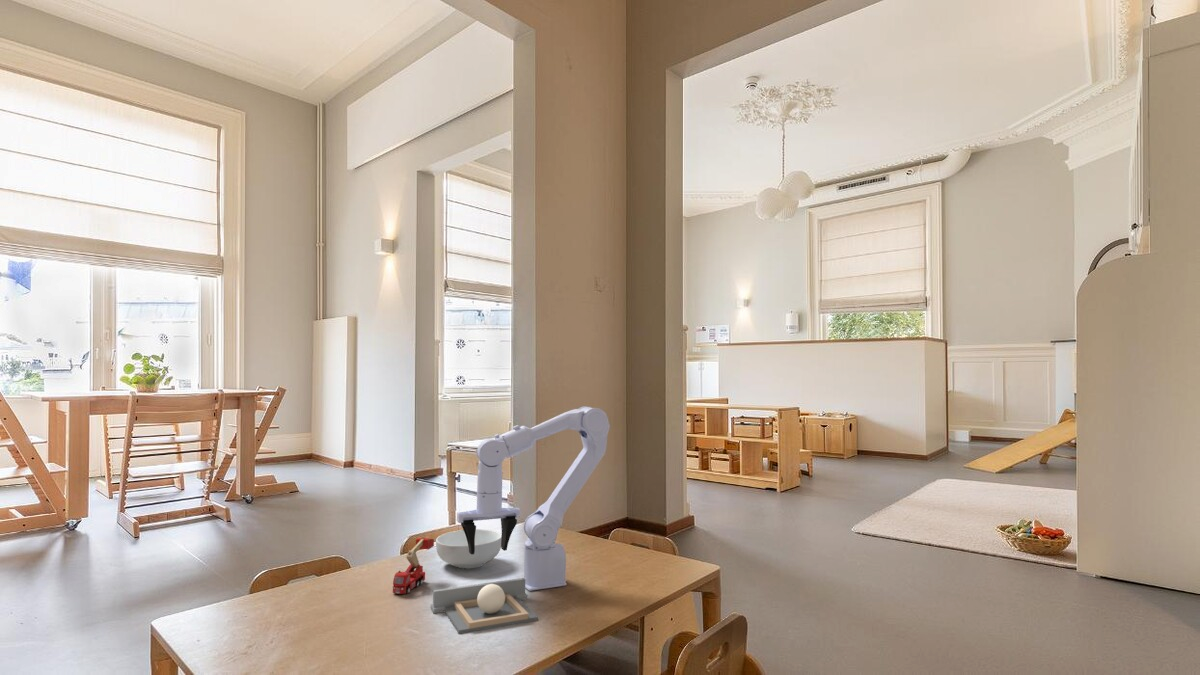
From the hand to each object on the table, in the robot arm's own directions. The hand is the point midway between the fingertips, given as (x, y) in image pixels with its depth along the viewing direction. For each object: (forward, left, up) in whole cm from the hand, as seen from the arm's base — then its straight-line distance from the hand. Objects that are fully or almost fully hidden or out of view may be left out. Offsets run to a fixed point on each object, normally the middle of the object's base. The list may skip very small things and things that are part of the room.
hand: (488, 551), depth 143 cm
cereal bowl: (-1, -20, -9) cm, 22 cm away
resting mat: (+4, +16, -8) cm, 19 cm away
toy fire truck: (+15, -9, -9) cm, 20 cm away
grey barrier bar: (+4, +9, -8) cm, 13 cm away
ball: (+4, +16, -5) cm, 17 cm away
